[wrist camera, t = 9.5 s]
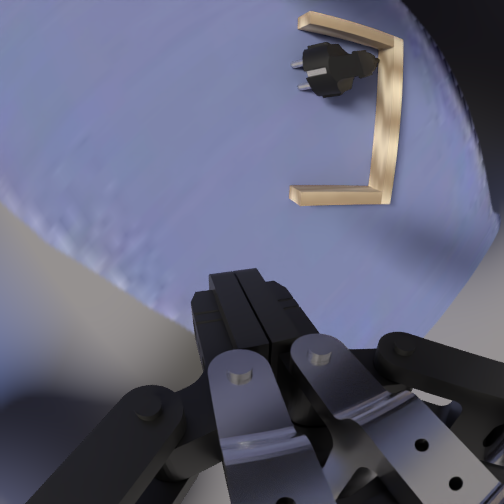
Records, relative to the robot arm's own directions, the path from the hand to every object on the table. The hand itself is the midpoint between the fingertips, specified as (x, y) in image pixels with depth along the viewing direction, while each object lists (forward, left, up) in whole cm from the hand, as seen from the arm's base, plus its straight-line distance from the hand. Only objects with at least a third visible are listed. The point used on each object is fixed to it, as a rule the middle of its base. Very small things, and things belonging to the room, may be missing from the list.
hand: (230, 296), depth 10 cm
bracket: (-7, +18, -23) cm, 30 cm away
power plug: (-12, +17, -24) cm, 32 cm away
